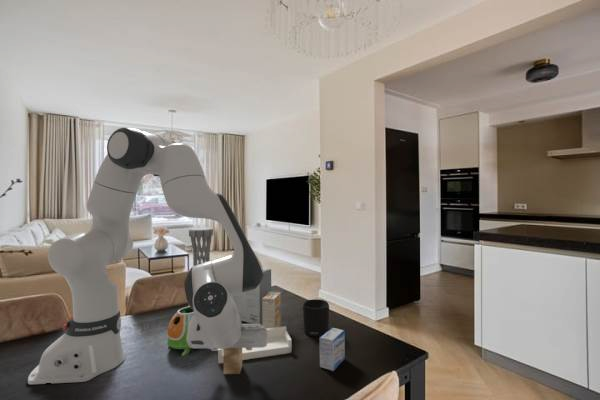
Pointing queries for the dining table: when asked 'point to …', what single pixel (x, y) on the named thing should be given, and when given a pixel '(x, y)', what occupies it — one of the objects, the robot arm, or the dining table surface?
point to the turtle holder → (180, 330)
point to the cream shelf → (276, 345)
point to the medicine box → (332, 349)
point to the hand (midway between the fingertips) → (232, 347)
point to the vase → (197, 234)
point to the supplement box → (271, 310)
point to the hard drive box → (253, 300)
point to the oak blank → (232, 360)
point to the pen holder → (315, 317)
